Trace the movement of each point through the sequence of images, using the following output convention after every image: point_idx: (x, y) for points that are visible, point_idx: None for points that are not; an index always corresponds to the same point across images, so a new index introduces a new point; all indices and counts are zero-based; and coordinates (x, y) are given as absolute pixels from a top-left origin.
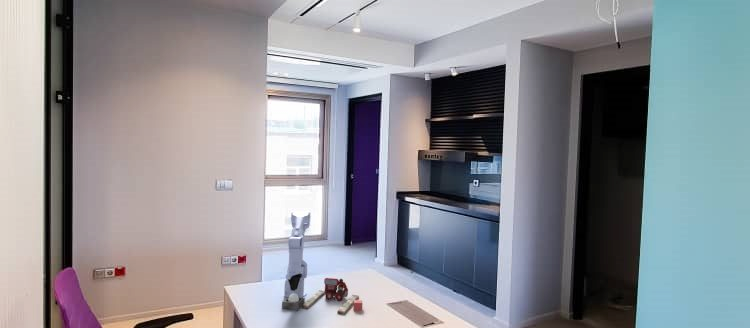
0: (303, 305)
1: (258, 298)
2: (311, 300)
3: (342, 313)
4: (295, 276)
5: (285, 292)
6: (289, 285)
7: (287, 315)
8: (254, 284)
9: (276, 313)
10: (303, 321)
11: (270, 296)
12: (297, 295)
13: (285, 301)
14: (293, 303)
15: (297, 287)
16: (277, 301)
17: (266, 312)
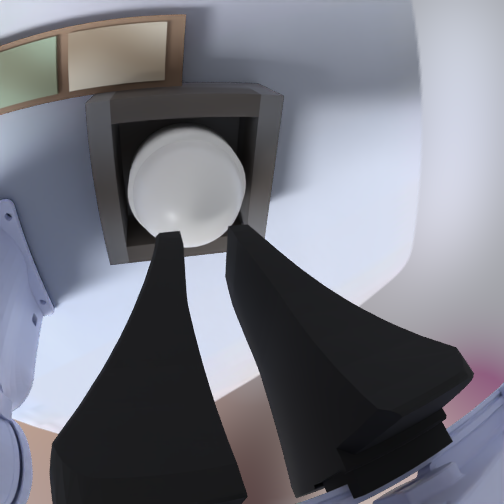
0: (170, 65)
1: None
2: (23, 65)
3: None
4: (352, 457)
5: (37, 327)
6: (15, 356)
7: (347, 126)
8: (49, 426)
9: (325, 205)
10: (411, 3)
11: (96, 355)
12: (175, 169)
13: (254, 226)
14: (277, 140)
15: (163, 243)
16: (134, 300)
17: (318, 258)
